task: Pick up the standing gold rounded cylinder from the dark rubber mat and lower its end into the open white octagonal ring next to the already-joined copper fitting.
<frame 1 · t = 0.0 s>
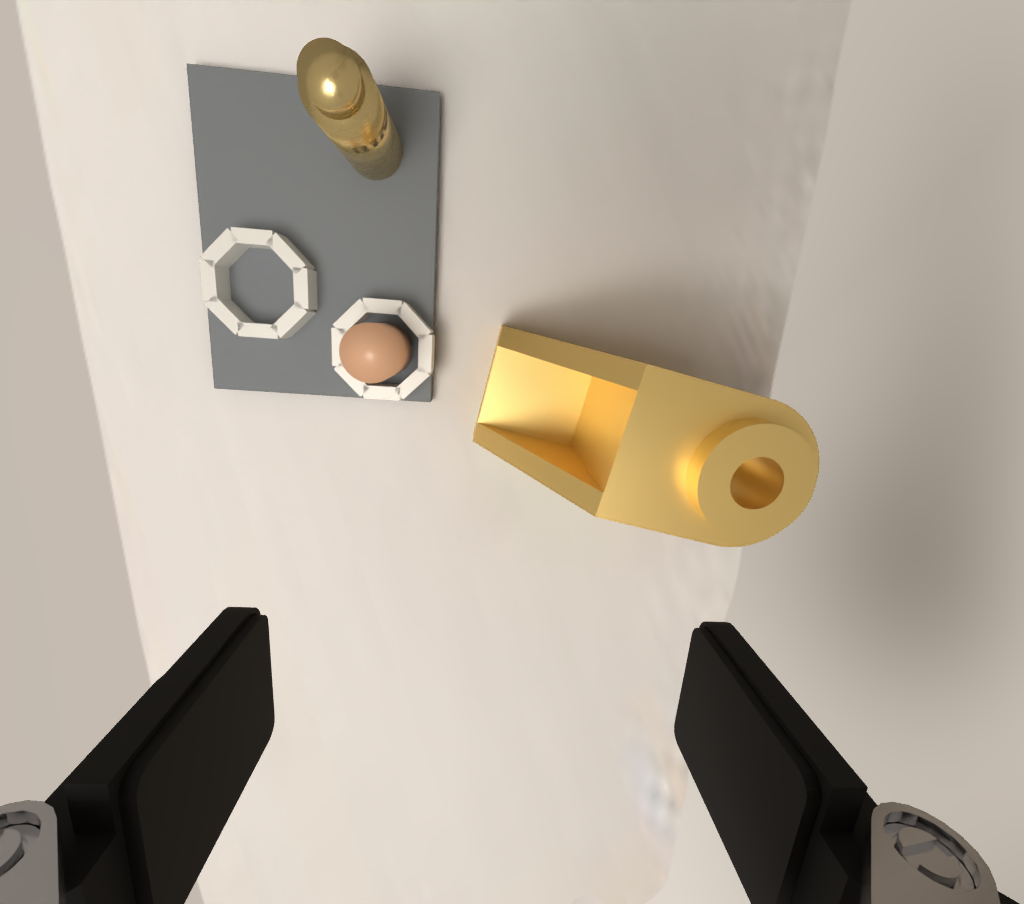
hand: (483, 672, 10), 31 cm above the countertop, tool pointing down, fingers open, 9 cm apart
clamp: (598, 409, 41), on the countertop
mat: (325, 251, 36), on the countertop
gold rounded cylinder: (374, 149, 34), point 1 cm above the countertop, touching mat
white octagonal ring: (274, 288, 37), resting on mat
joined fitting: (390, 348, 39), resting on mat
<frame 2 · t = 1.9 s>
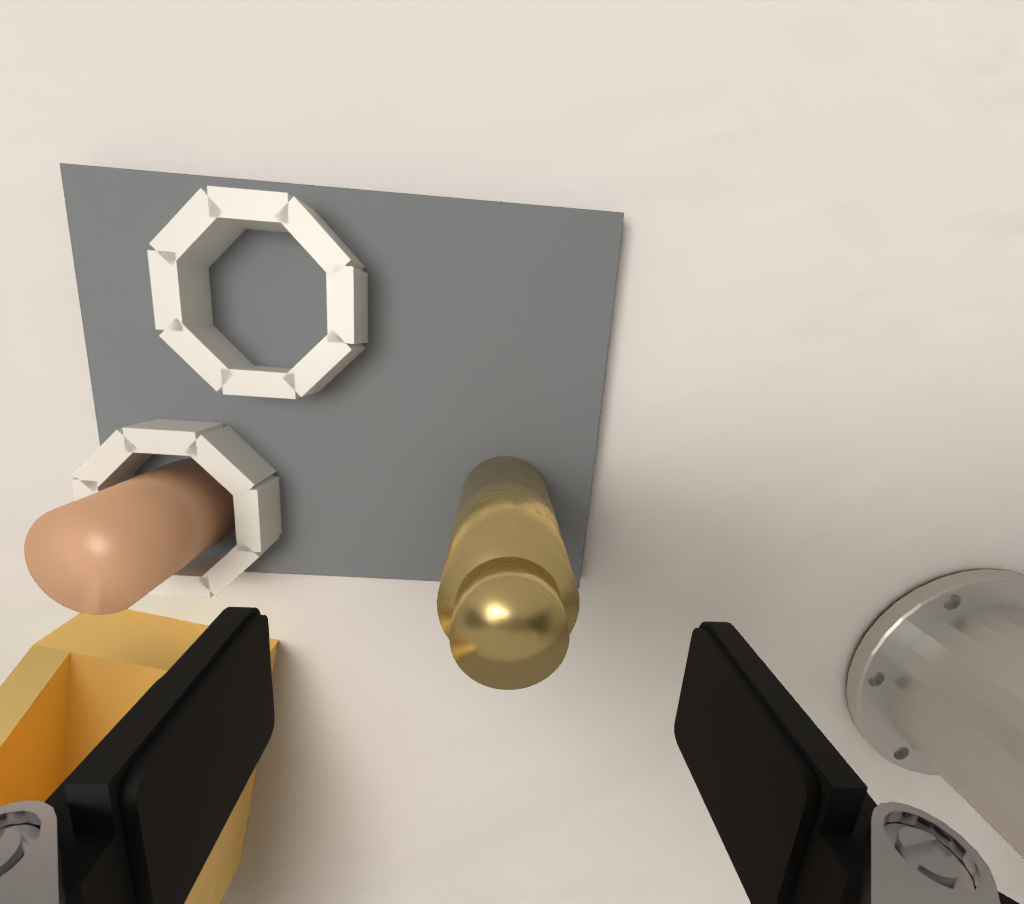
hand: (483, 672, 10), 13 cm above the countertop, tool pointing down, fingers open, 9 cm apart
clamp: (174, 768, 27), on the countertop
mat: (359, 398, 22), on the countertop
gold rounded cylinder: (504, 497, 22), point 1 cm above the countertop, touching mat
white octagonal ring: (290, 303, 21), resting on mat
joined fitting: (213, 491, 23), resting on mat
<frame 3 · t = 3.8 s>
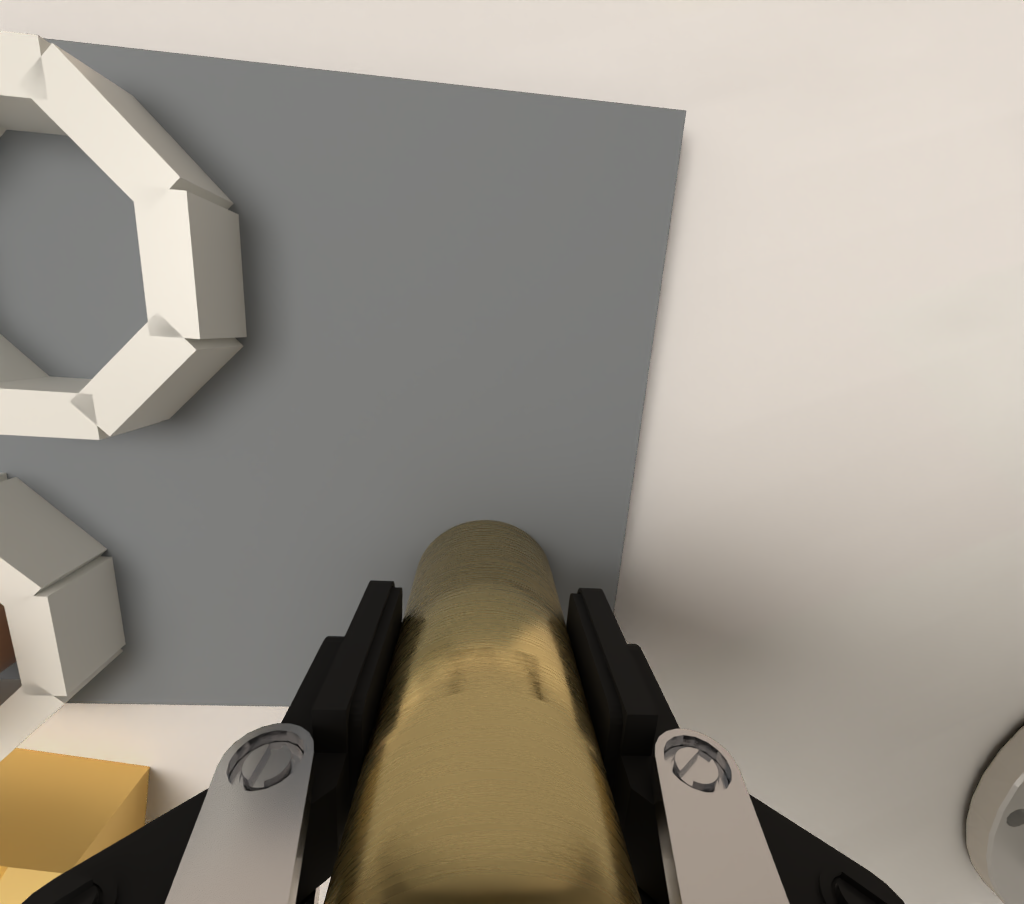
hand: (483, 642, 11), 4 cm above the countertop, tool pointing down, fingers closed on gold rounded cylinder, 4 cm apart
mat: (248, 427, 14), on the countertop
gold rounded cylinder: (484, 583, 14), point 1 cm above the countertop, touching gripper, mat
white octagonal ring: (118, 270, 12), resting on mat
joined fitting: (19, 575, 14), resting on mat
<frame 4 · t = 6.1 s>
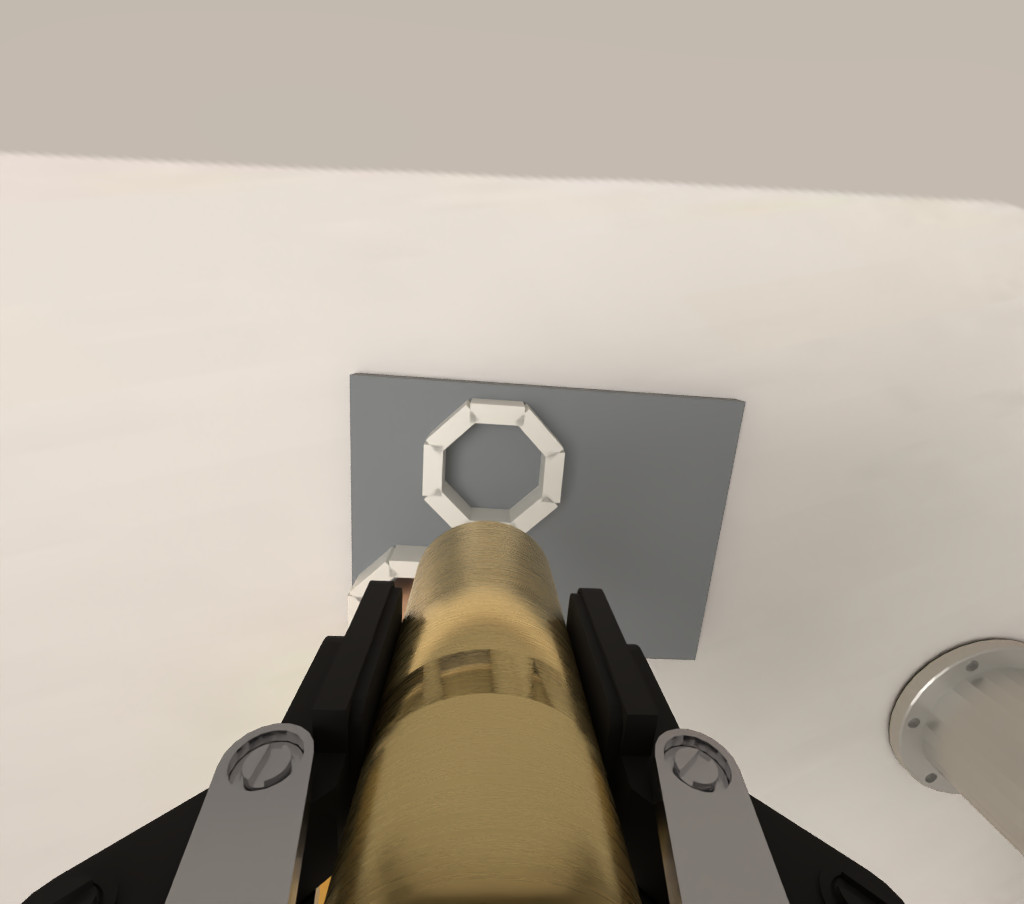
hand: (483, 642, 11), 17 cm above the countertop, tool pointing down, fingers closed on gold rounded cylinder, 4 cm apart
mat: (537, 523, 29), on the countertop
gold rounded cylinder: (484, 584, 14), point 15 cm above the countertop, touching gripper
white octagonal ring: (493, 458, 28), resting on mat
joined fitting: (421, 590, 30), resting on mat
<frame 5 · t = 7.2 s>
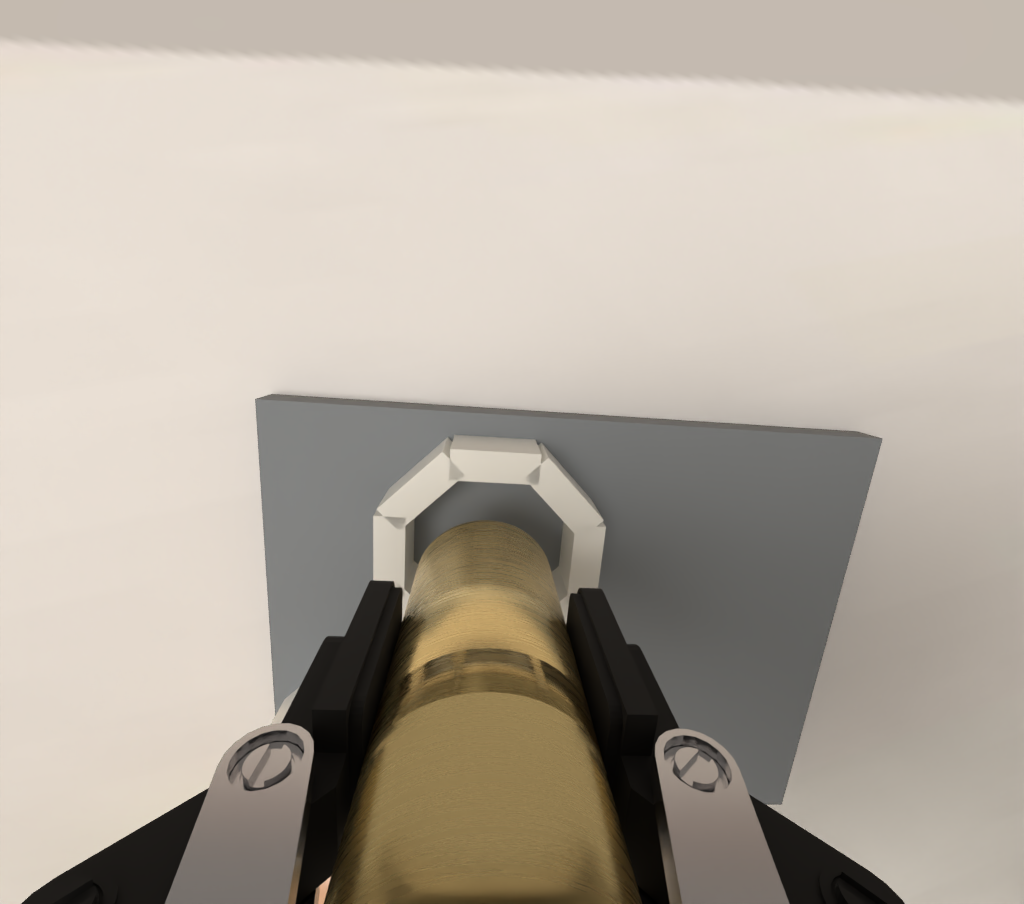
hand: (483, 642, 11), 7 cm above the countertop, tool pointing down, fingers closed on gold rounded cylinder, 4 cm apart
mat: (554, 615, 20), on the countertop
gold rounded cylinder: (484, 583, 14), point 5 cm above the countertop, touching gripper
white octagonal ring: (488, 522, 18), resting on mat
joined fitting: (383, 711, 20), resting on mat
when the fingers open (5 cm above the countertop, at t = 8.3 s): gold rounded cylinder stays where it is, resting on mat.
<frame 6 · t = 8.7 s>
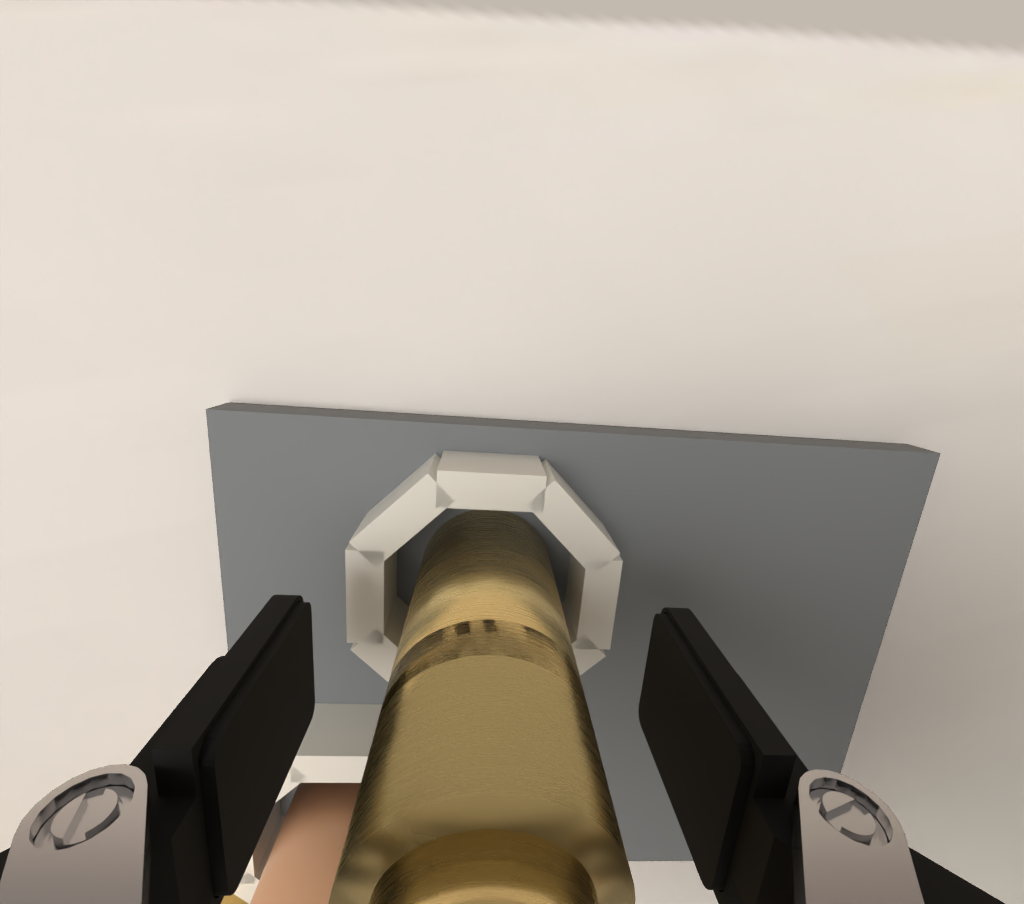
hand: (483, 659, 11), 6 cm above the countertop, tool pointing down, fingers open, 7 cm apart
mat: (559, 652, 17), on the countertop
gold rounded cylinder: (486, 567, 15), point 1 cm above the countertop, touching mat
white octagonal ring: (484, 549, 16), resting on mat
joined fitting: (365, 760, 18), resting on mat
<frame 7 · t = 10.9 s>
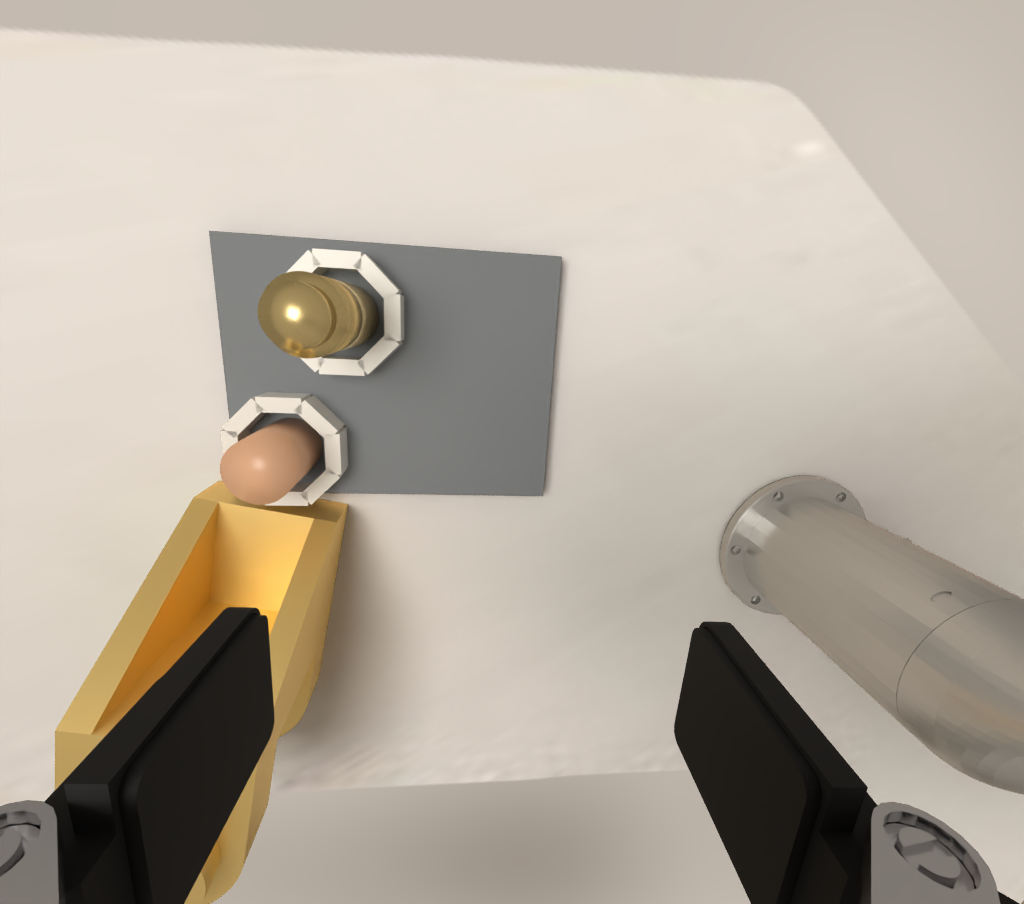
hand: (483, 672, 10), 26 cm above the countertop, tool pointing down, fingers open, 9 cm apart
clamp: (270, 606, 38), on the countertop
mat: (396, 375, 34), on the countertop
gold rounded cylinder: (348, 315, 31), point 1 cm above the countertop, touching mat
white octagonal ring: (350, 314, 32), resting on mat
joined fitting: (298, 441, 34), resting on mat
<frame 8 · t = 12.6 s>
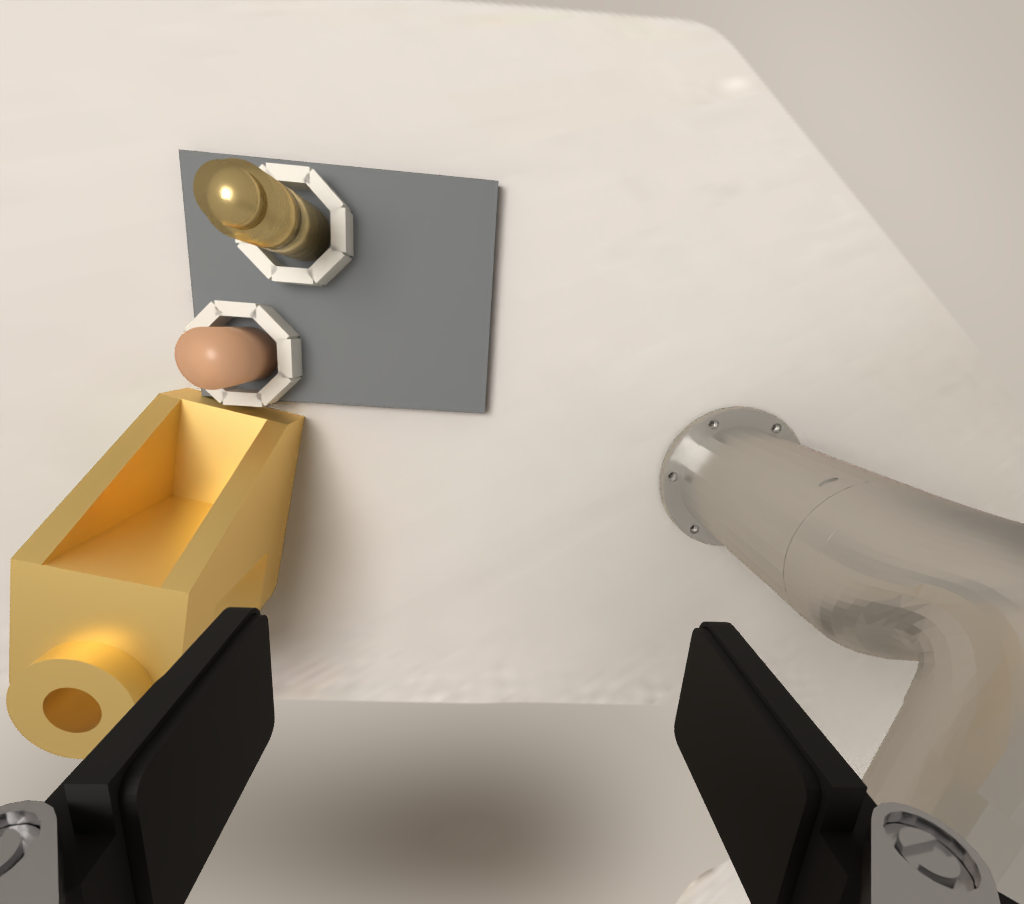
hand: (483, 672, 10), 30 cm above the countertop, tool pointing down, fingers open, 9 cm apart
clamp: (233, 513, 41), on the countertop
mat: (348, 293, 36), on the countertop
gold rounded cylinder: (302, 231, 34), point 1 cm above the countertop, touching mat
white octagonal ring: (307, 234, 35), resting on mat
joined fitting: (259, 352, 37), resting on mat
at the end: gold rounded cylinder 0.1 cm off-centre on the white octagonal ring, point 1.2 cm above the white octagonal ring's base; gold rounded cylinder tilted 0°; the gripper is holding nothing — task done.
